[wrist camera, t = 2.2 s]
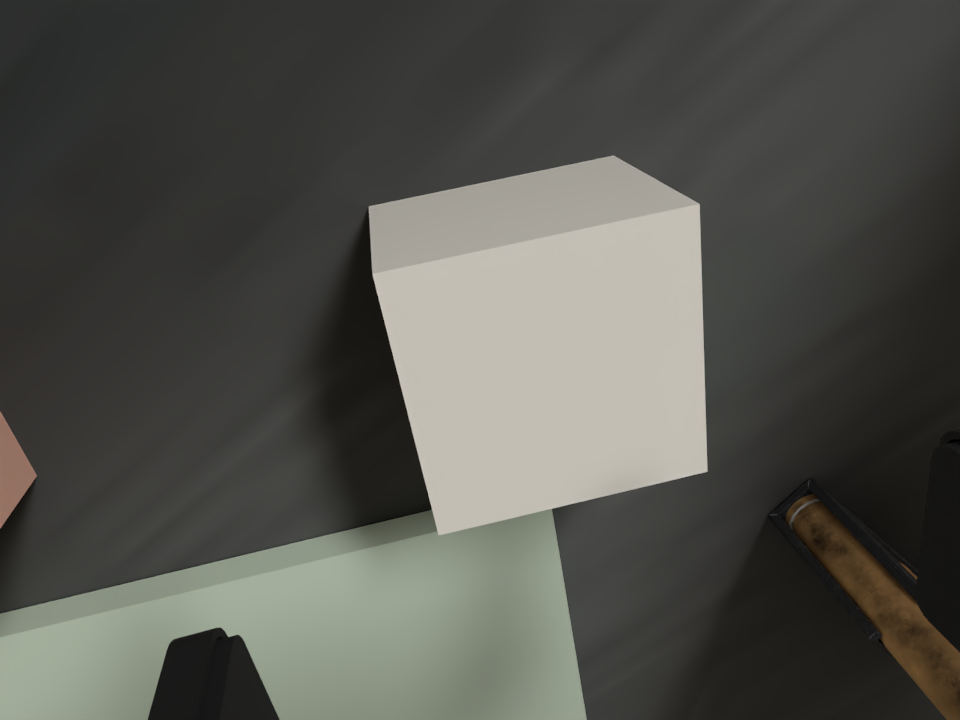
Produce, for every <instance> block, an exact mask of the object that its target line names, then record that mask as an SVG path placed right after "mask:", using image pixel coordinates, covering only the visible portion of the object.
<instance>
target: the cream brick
mask: <svg viewBox="0 0 960 720" xmlns="http://www.w3.org/2000/svg"><path fill="white" fill-rule="evenodd" d="M369 223H370V241H371V259H372V275H373V279H374V283H375V287H376V291H377V295H378V298H379V302H380V306H381V310H382V314H383V318H384V322H385V326H386V330H387V334H388V338H389V342H390V346H391V350H392V354H393V358H394V362H395V366H396V369H397V373H398V377H399V381H400V385H401V389H402V393H403V397H404V401H405V405H406V409H407V413H408V417H409V421H410V425H411V429H412V433H413V437H414V440H415V444H416V448H417V452H418V456H419V460H420V464H421V468H422V472H423V476H424V480H425V484H426V488H427V492H428V496H429V500H430V504H431V507H432V511H433V515H434V519H435V523H436V527H437V531H438V535H443V534H447V533H452V532H456V531H460V530H464V529H468V528H473V527H477V526H481V525H485V524H489V523H494V522H498V521H502V520H506V519H511V518H515V517H519V516H523V515H527V514H532V513H536V512H540V511H544V510H548V509H553V508H557V507H561V506H565V505H569V504H574V503H578V502H582V501H586V500H590V499H595V498H599V497H603V496H607V495H611V494H616V493H620V492H624V491H628V490H633V489H637V488H641V487H645V486H649V485H654V484H658V483H662V482H666V481H670V480H675V479H679V478H683V477H687V476H691V475H696V474H700V473H704V472H707V442H706V408H705V374H704V340H703V306H702V272H701V238H700V204H699V203H697V202H695V201H693V200H692V199H690V198H688V197H686V196H684V195H683V194H681V193H679V192H677V191H676V190H674V189H672V188H670V187H668V186H667V185H665V184H663V183H661V182H660V181H658V180H656V179H654V178H653V177H651V176H649V175H647V174H645V173H644V172H642V171H640V170H638V169H637V168H635V167H633V166H631V165H629V164H628V163H626V162H624V161H622V160H621V159H619V158H617V157H615V156H609V157H604V158H600V159H595V160H590V161H585V162H580V163H576V164H571V165H566V166H561V167H556V168H552V169H547V170H542V171H537V172H532V173H528V174H523V175H518V176H513V177H508V178H504V179H499V180H494V181H489V182H484V183H479V184H475V185H470V186H465V187H460V188H455V189H451V190H446V191H441V192H436V193H431V194H427V195H422V196H417V197H412V198H407V199H403V200H398V201H393V202H388V203H383V204H379V205H374V206H369Z"/></svg>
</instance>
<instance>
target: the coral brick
mask: <svg viewBox="0 0 960 720" xmlns="http://www.w3.org/2000/svg"><path fill="white" fill-rule="evenodd" d="M36 477H37V475H36V473H35V472H34V470H33V468H32V466H31V465H30V463H29V461H28V459H27V458H26V456H25V454H24V452H23V451H22V449H21V447H20V445H19V443H18V442H17V440H16V438H15V436H14V435H13V433H12V431H11V429H10V428H9V426H8V424H7V422H6V421H5V419H4V417H3V415H2V414H1V412H0V528H1V527H2V525H3V524H4V523H5V521H6V520H7V518H8V517H9V515H10V514H11V512H12V511H13V510H14V508H15V507H16V505H17V504H18V502H19V501H20V500H21V498H22V497H23V495H24V494H25V492H26V491H27V489H28V488H29V487H30V485H31V484H32V482H33V481H34V479H35V478H36Z"/></svg>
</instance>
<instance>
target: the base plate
mask: <svg viewBox="0 0 960 720" xmlns="http://www.w3.org/2000/svg"><path fill="white" fill-rule="evenodd" d="M220 627H221V628H222V629H223V630H224V631H225V632H226V634H227V636H228V637H231V636H235V635H240V636H241V637H242V639H243V640H244V642H245V644H246V647H247V649H248V651H249V653H250V655H251V658H252V660H253V662H254V664H255V666H256V669H257V671H258V673H259V675H260V678H261V680H262V682H263V684H264V686H265V689H266V691H267V693H268V695H269V697H270V700H271V702H272V704H273V706H274V708H275V711H276V713H277V715H278V717H279V719H280V720H587V718H586V712H585V706H584V700H583V694H582V688H581V682H580V676H579V670H578V664H577V658H576V652H575V646H574V640H573V634H572V628H571V622H570V616H569V610H568V604H567V598H566V592H565V586H564V580H563V573H562V567H561V561H560V555H559V549H558V543H557V537H556V531H555V525H554V519H553V513H552V509H548V510H544V511H540V512H536V513H532V514H527V515H523V516H519V517H515V518H511V519H506V520H502V521H498V522H494V523H489V524H485V525H481V526H477V527H473V528H468V529H464V530H460V531H456V532H452V533H447V534H443V535H438V531H437V527H436V523H435V519H434V515H433V511H432V510H429V511H425V512H421V513H417V514H413V515H408V516H404V517H400V518H396V519H392V520H388V521H383V522H379V523H375V524H371V525H367V526H363V527H359V528H354V529H350V530H346V531H342V532H338V533H334V534H329V535H325V536H321V537H317V538H313V539H309V540H305V541H300V542H296V543H292V544H288V545H284V546H280V547H275V548H271V549H267V550H263V551H259V552H255V553H251V554H246V555H242V556H238V557H234V558H230V559H226V560H221V561H217V562H213V563H209V564H205V565H201V566H197V567H192V568H188V569H184V570H180V571H176V572H172V573H167V574H163V575H159V576H155V577H151V578H147V579H143V580H138V581H134V582H130V583H126V584H122V585H118V586H113V587H109V588H105V589H101V590H97V591H93V592H89V593H84V594H80V595H76V596H72V597H68V598H64V599H59V600H55V601H51V602H47V603H43V604H39V605H35V606H30V607H26V608H22V609H18V610H14V611H10V612H5V613H1V614H0V720H148V716H149V713H150V709H151V705H152V702H153V698H154V695H155V691H156V687H157V684H158V680H159V677H160V673H161V669H162V666H163V662H164V659H165V655H166V651H167V649H168V646H169V644H170V642H171V641H172V640H173V639H177V638H180V637H184V636H188V635H192V634H195V633H199V632H203V631H206V630H210V629H214V628H220Z"/></svg>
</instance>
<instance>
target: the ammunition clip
mask: <svg viewBox="0 0 960 720" xmlns="http://www.w3.org/2000/svg"><path fill="white" fill-rule="evenodd" d="M768 517H769V519H770V520H771V521H772V522H773V523H774V525H775V526H776V527H777V528H778V529H779V531H780V532H781V533H782V534H783V535H784V537H785V538H786V539H787V540H788V542H789V543H790V544H791V545H792V546H793V548H794V549H795V550H796V551H797V552H798V554H799V555H800V556H801V557H802V558H803V560H804V561H805V562H806V563H807V564H808V566H809V567H810V568H811V569H812V570H813V572H814V573H815V574H816V575H817V576H818V578H819V579H820V580H821V581H822V582H823V584H824V585H825V586H826V587H827V588H828V590H829V591H830V592H831V593H832V594H833V596H834V597H835V598H836V599H837V600H838V602H839V603H840V604H841V605H842V606H843V608H844V609H845V610H846V611H847V612H848V614H849V615H850V616H851V617H852V618H853V620H854V621H855V622H856V623H857V625H858V626H859V627H860V628H861V629H862V631H863V632H864V633H865V634H866V635H867V637H868V638H869V639H870V640H871V641H872V642H874V643H875V644H876V645H878V646H879V647H880V648H882V649H883V650H884V651H886V652H887V653H888V654H890V655H891V656H892V657H894V658H895V659H896V660H897V661H898V663H899V664H900V665H901V666H902V667H903V669H904V670H905V671H906V672H907V673H908V674H909V676H910V677H911V678H912V679H913V680H914V682H915V683H916V684H917V685H918V686H919V687H920V689H921V690H922V691H923V692H924V693H925V695H926V696H927V697H928V698H929V699H930V701H931V702H932V703H933V704H934V705H935V706H936V708H937V709H938V710H939V711H940V712H941V714H942V715H943V716H944V717H945V718H946V719H947V720H960V652H959V651H958V650H957V649H956V648H955V647H954V646H953V645H952V644H951V643H950V642H949V641H948V640H947V639H946V638H945V637H944V636H943V635H942V634H941V633H940V632H939V631H938V630H937V629H936V628H935V627H934V626H933V625H932V624H931V623H930V622H929V621H928V620H927V619H926V618H925V617H924V615H923V613H922V612H921V610H920V608H919V606H918V604H917V600H916V583H917V575H918V569H917V568H915V567H914V566H913V565H912V564H911V563H910V562H909V561H907V560H906V559H905V558H904V557H903V556H902V555H900V554H899V553H898V552H897V551H896V550H895V549H894V548H892V547H891V546H890V545H889V544H888V543H887V542H885V541H884V540H883V539H882V538H881V537H880V536H879V535H877V534H876V533H875V532H874V531H873V530H872V529H870V528H869V527H868V526H867V525H866V524H865V523H864V522H862V521H861V520H860V519H859V518H858V517H857V516H855V515H854V514H853V513H852V512H851V511H850V510H849V509H847V508H846V507H845V506H844V505H843V504H842V503H840V502H839V501H838V500H837V499H836V498H835V497H834V496H832V495H831V494H830V493H829V492H828V491H827V490H825V489H824V488H823V487H822V486H821V485H820V484H819V483H817V482H816V481H815V480H814V479H813V478H811V479H809V480H808V481H807V482H806V483H805V484H803V485H802V486H801V487H800V488H799V489H798V490H797V491H796V492H794V493H793V494H792V495H791V496H790V497H789V498H788V499H787V500H785V501H784V502H783V503H782V504H781V505H780V506H779V507H778V508H776V509H775V510H774V511H773V512H772V513H771V514H770V515H769V516H768Z"/></svg>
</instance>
